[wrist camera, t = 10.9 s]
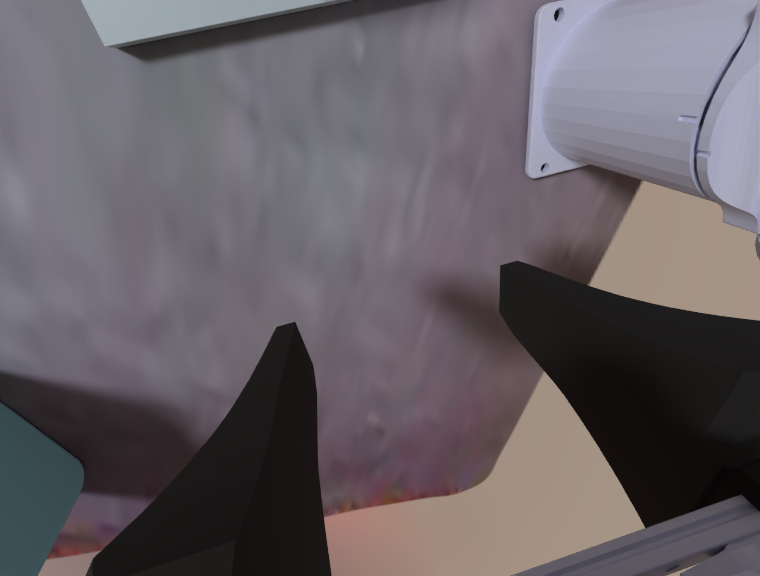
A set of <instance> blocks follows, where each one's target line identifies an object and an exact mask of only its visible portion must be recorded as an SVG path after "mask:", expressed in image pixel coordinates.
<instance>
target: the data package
mask: <svg viewBox="0 0 760 576" xmlns="http://www.w3.org/2000/svg"><path fill="white" fill-rule="evenodd" d="M83 484H84V469H83V466H82V464H81V462H80V461H79V460H78V459H77V458H76V457H74V456H73V455H71V454H70V453H69V452H67V451H66V450H65V449H63V448H62V447H61V446H59V445H58V444H57V443H55V442H54V441H53V440H51V439H50V438H49V437H47V436H46V435H45V434H43V433H42V432H41V431H39V430H38V429H37V428H35V427H34V426H33V425H31V424H30V423H28V422H27V421H26V420H24V419H23V418H22V417H20V416H19V415H18V414H16V413H15V412H14V411H12V410H11V409H10V408H8V407H7V406H6V405H4V404H3V403H2V402H0V576H38V574H39V572H40V570H41V568H42V566H43V564H44V562H45V560H46V558H47V556H48V555H49V553H50V551H51V549H52V547H53V545H54V543H55V541H56V539H57V537H58V535H59V533H60V531H61V529H62V527H63V525H64V523H65V521H66V519H67V517H68V515H69V513H70V511H71V510H72V508H73V506H74V504H75V502H76V500H77V498H78V496H79V494H80V492H81V490H82V487H83Z"/></svg>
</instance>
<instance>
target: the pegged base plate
mask: <svg viewBox="0 0 760 576" xmlns="http://www.w3.org/2000/svg"><path fill="white" fill-rule="evenodd" d="M81 1H82V3H83V5H84V7H85V9H86V11H87V13H88V15H89V17H90V19H91V21H92V23H93V24H94V26H95V28H96V30H97V32H98V34H99V36H100V38H101V40H102V42H103V44H104V46H105V47H112V48H120V47H125V46H130V45H135V44H140V43H145V42H150V41H155V40H160V39H165V38H170V37H175V36H179V35H184V34H189V33H194V32H199V31H204V30H209V29H214V28H219V27H224V26H229V25H234V24H239V23H244V22H249V21H254V20H259V19H264V18H269V17H274V16H279V15H284V14H289V13H294V12H299V11H304V10H308V9H313V8H318V7H323V6H328V5H333V4H338V3H343V2H348V1H353V0H81Z"/></svg>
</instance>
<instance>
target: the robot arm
mask: <svg viewBox="0 0 760 576" xmlns="http://www.w3.org/2000/svg"><path fill="white" fill-rule="evenodd" d="M556 10H558V11H559V16H558V19H557V21H555V20H554V13H555V11H556ZM543 164H545V167H544V169H543V170H541V166H542V165H543ZM590 164H591V165H594V166H598V167H601V168H604V169H608V170H611V171H614V172H618V173H621V174H624V175H627V176H631V177H634V178H637V179H641V180H644V181H647V182H650V183H654V184H657V185H660V186H664V187H667V188H670V189H674V190H677V191H680V192H683V193H687V194H690V195H693V196H697V197H700V198H703V199H706V200H710V201H713V202H716V203H718V204H719V205H720V206H721V207H722V209H723V222H724V223H728V224H731V225H733V226H736V227H739V228H742V229H745V230H748V231H751V232H754V233H756V234H758V235H757V238H756V243H755V246H756V252H757V256H758V258H759V259H760V0H562V1H557V2H552V3H548V4H545V5H543V6H541V7H540V8H539V9H538V11H537V13H536V16H535V22H534V38H533V54H532V70H531V86H530V103H529V119H528V135H527V151H526V167H525V173H526V175H527V176H528V177H530V178H532V179H534V178H539V177H543V176H547V175H551V174H555V173H559V172H563V171H567V170H571V169H574V168H578V167H582V166H586V165H590ZM499 312H500V314H501V315H502V317H503V319H504V320H505V322H506V324H507V325H508V327H509V328H510V330H511V331H512V333H513V334H514V336H515V337H516V338H517V339H518V340H519V342H520V343H521V344H522V345H523V346H524V348H525V349H526V350H527V351H528V352H529V354H530V355H531V356H532V357H533V358H534V359H535V361H536V362H537V363H538V364H539V365H540V366H541V368H542V369H543V370H544V371H545V372H546V373H547V375H548V376H549V377H550V378H551V379H552V380H553V382H554V383H555V384H556V385H557V387H558V388H559V389H560V391H561V392H562V393H563V394H564V396H565V397H566V399H567V400H568V402H569V403H570V404H571V406H572V407H573V409H574V410H575V412H576V413H577V415H578V416H579V418H580V419H581V420H582V422H583V423H584V425H585V427H586V428H587V430H588V431H589V433H590V434H591V436H592V437H593V439H594V441H595V442H596V444H597V445H598V447H599V448H600V450H601V451H602V453H603V455H604V457H605V458H606V460H607V461H608V463H609V465H610V466H611V468H612V470H613V471H614V473H615V475H616V476H617V478H618V480H619V481H620V483H621V485H622V487H623V488H624V490H625V492H626V494H627V495H628V497H629V499H630V501H631V503H632V504H633V506H634V508H635V510H636V511H637V513H638V515H639V517H640V519H641V521H642V522H643V524H644V526H645V529H642V530H639V531H637V532H634V533H631V534H628V535H625V536H622V537H620V538H617V539H614V540H611V541H608V542H605V543H603V544H600V545H597V546H594V547H591V548H588V549H585V550H583V551H580V552H577V553H574V554H571V555H568V556H566V557H563V558H560V559H557V560H554V561H551V562H549V563H546V564H543V565H540V566H537V567H534V568H532V569H529V570H526V571H523V572H520V573H517V574H515V575H512V576H666V575H669V574H671V573H674V572H677V571H680V570H682V569H685V568H688V567H690V566H693V565H696V564H698V565H696V566H694V567H692V568H690V569H688V570H686V571H685V572H682V573H681V574H680V576H760V321H757V320H748V319H740V318H732V317H725V316H717V315H711V314H704V313H698V312H692V311H687V310H681V309H676V308H670V307H666V306H661V305H656V304H652V303H647V302H644V301H639V300H635V299H631V298H627V297H624V296H620V295H616V294H613V293H610V292H606V291H603V290H600V289H597V288H593V287H590V286H587V285H584V284H581V283H579V282H576V281H573V280H570V279H567V278H564V277H562V276H559V275H556V274H554V273H551V272H548V271H545V270H543V269H540V268H537V267H534V266H532V265H529V264H526V263H523V262H519V261H515V262H511V263H508V264H504V265H500V302H499ZM699 563H700V564H699ZM86 576H331V568H330V561H329V554H328V546H327V539H326V531H325V524H324V515H323V507H322V499H321V489H320V480H319V471H318V442H317V390H316V382H315V375H314V368H313V364H312V361H311V359H310V356H309V354H308V352H307V349H306V347H305V344H304V342H303V340H302V337H301V335H300V332H299V330H298V328H297V325H296V323H295V322H293V323H289V324H286V325H282V326H278V327H277V328H276V329H275V331H274V333H273V335H272V337H271V339H270V341H269V343H268V345H267V347H266V349H265V351H264V353H263V355H262V357H261V359H260V361H259V363H258V364H257V366H256V368H255V370H254V372H253V374H252V375H251V377H250V379H249V381H248V382H247V384H246V386H245V387H244V389H243V391H242V392H241V394H240V396H239V397H238V399H237V400H236V402H235V404H234V405H233V407H232V408H231V410H230V411H229V413H228V414H227V416H226V417H225V418H224V420H223V421H222V422H221V424H220V425H219V427H218V428H217V429H216V431H215V432H214V433H213V434H212V436H211V437H210V438H209V439H208V441H207V442H206V443H205V444H204V445H203V447H202V448H201V449H200V450H199V451H198V453H197V454H196V455H195V456H194V457H193V459H192V460H191V461H190V462H189V463H188V465H187V466H186V467H185V468H184V469H183V470H182V471H181V473H180V474H179V475H178V476H177V477H176V478H175V479H174V480H173V481H172V482H171V483H170V484H169V486H168V487H167V488H166V489H165V490H164V491H163V492H162V493H161V494H160V495H159V496H158V497H157V498H156V499H155V500H154V501H153V502H152V503H151V504H150V505H149V506H148V507H147V508H146V509H145V510H144V511H143V512H142V513H141V514H140V515H139V516H138V517H137V518H136V519H135V520H134V521H133V522H132V523H131V524H129V525H128V526H127V527H126V528H125V529H124V530H123V531H122V532H121V533H120V534H119V535H118V536H117V537H116V538H115V539H114V540H113V541H111V542H110V543H109V544H108V545H107V546H106V547H105V548H104V549H103V550H102V551H101V552H100V553H98V554H97V555H96V556H95V557H94V558H93V560H92V563H91V565H90V567H89V569H88V572H87V574H86Z"/></svg>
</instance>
